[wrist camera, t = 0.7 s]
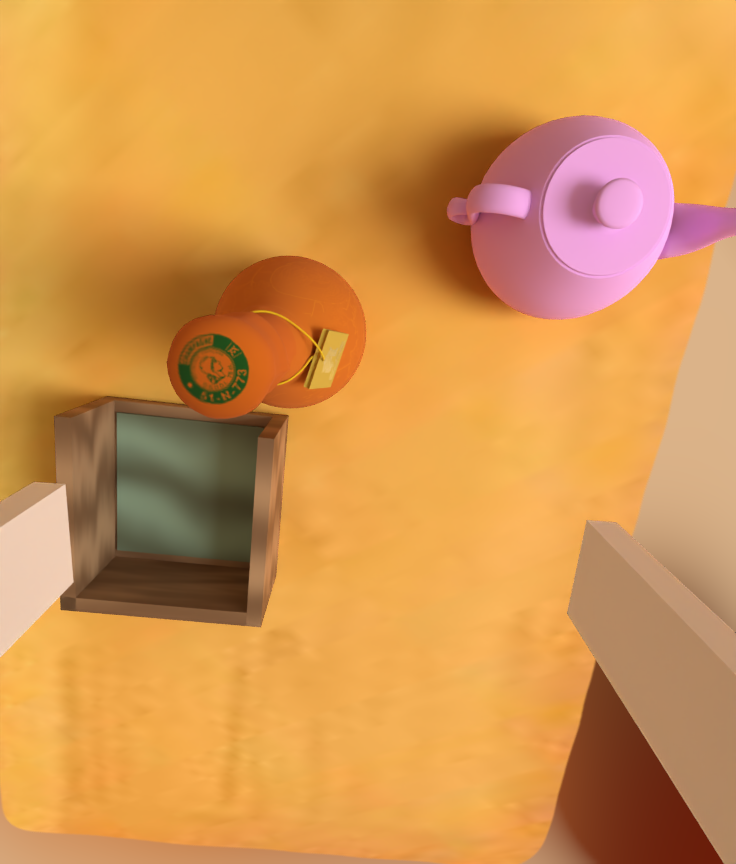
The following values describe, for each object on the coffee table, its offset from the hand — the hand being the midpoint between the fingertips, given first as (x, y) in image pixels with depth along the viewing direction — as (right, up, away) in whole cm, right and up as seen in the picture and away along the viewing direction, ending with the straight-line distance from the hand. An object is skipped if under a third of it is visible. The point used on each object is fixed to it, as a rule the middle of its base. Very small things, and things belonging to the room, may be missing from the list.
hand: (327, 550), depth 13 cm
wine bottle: (-4, +12, +32) cm, 34 cm away
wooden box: (-15, -2, +35) cm, 38 cm away
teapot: (+17, +20, +30) cm, 40 cm away
